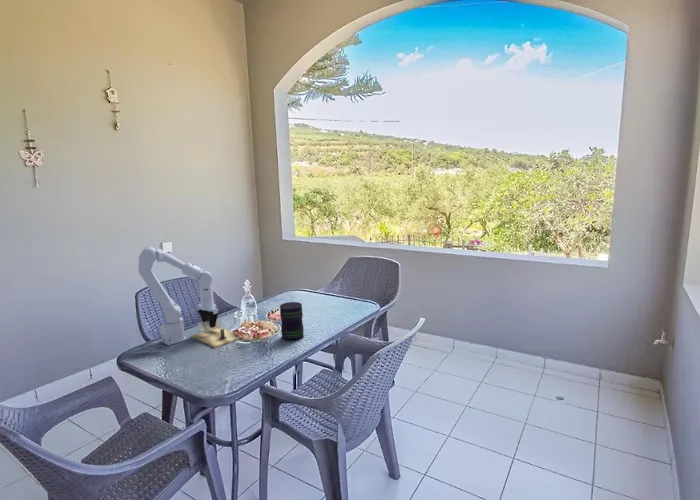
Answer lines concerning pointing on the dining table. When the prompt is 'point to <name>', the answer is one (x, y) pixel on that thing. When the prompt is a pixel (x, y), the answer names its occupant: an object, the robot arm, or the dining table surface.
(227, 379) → the dining table surface
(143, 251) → the robot arm
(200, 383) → the dining table surface
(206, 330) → the grey tin box
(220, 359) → the dining table surface
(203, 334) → the board
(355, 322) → the dining table surface
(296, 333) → the storage jar
